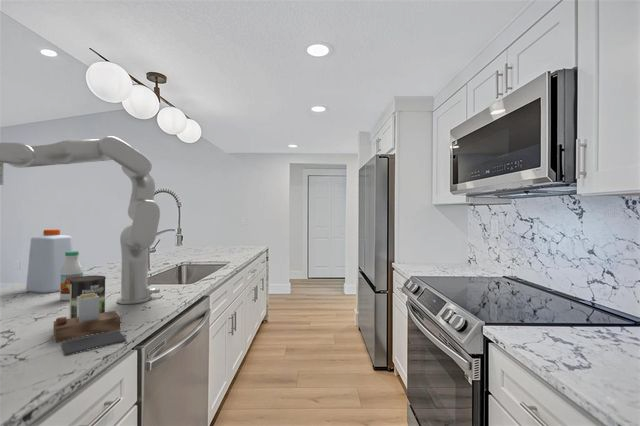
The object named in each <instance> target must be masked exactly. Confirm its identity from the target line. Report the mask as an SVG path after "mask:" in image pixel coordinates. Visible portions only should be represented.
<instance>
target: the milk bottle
mask: <svg viewBox="0 0 640 426" xmlns="http://www.w3.org/2000/svg"><path fill="white" fill-rule="evenodd" d="M79 254H80V252H79V251H78V250H73V251H67V252H65V257H66V260H65V263H64V265H63V267H62V269H61V274H60V291H59V298H60V300H61V301H70V282H69V280H70V279H72V278H76V277H82V276H84V270H83V266H82V265H81V263H80V260H79Z"/></svg>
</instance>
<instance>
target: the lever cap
mask: <svg viewBox="0 0 640 426" xmlns="http://www.w3.org/2000/svg"><path fill="white" fill-rule="evenodd" d="M97 319H99V296H98V295H97V294H95V293H88V294H81V296H77V320H78V322H79V323H81V322H87V321H92V320H97Z"/></svg>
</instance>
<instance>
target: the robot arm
mask: <svg viewBox="0 0 640 426" xmlns="http://www.w3.org/2000/svg"><path fill="white" fill-rule="evenodd" d="M106 161H107V162H108V161H114V162H115V163H117V164H118V165H119V166H121V170H122V172H123V173H124V174H125V175H126V176H127V177H128V178H129V179H130V181H131V188H132V189H131V193H130V200H129V204H128V205H129V206H128V208H127V215H128V217H129V219H130V220H132V222H131V224H130V225H128V226H126V227H124V228H123V230H122V231H121V233H120V238H119V240H120V241H119V242H120V250H121V271H120V272H121V277H120V279H121V283H120V284H121V285H120V286H121V287H120V289H121V293H120V296H119V297H118V298H117V299H116V303H117V304H121V305H133V304H142V303H145V302H148V301H150V300H151V299H152V294H159V293H160V288H159V287H158V288H155V287H153V288H149V287H148V277H149V276H148V274H149V273H148V272H149V271H148V267H149V266H148V263H149V259H148V258H149V255H148V254H149V253H148V249H149V248H151V247H152V246H153V244H154V243H155V242H156V238H157V234H158V229H159V223H160V218H161V217H160V216H161V210H160V206H159V205H158V203H157V202H155V201H154V200H155V199H154V198H155V193H156V192H155V191H156V182H155V180H154V178H153V175H152V174H151V171H152V169H153V165H152V161H151V160H150V158H148V157H147V156H146V155H145V154H144V153H142V152H141V151H139V150H137V149H136V148H134V147H133V146H132V145H130V144H128V143H127V142H125V141H124V140H122V139H120V138H118V137H116V136H112V135H108V136H105V137H103V138H93V139H90V138H89V139H67V140H61V141H58V142H55V143H49V144H43V145H42V144H41V145H28V144H25V143H24V142H23V143H21V142H0V185H1V186H2V185H4V164H8V165H9V166H11V167H13V168H33V167H34V168H35V167H46V166H57V165H58V166H59V165H71V164H73V165H74V164H83V163H93V162H96V163H97V162H106Z"/></svg>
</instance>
